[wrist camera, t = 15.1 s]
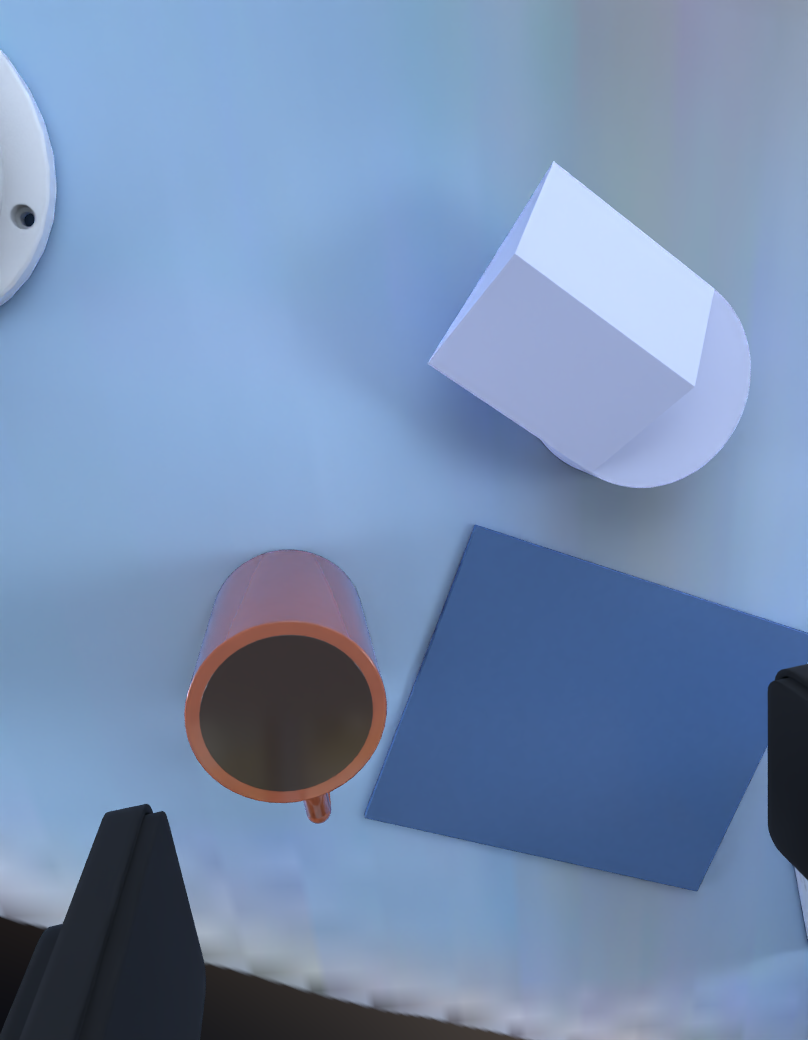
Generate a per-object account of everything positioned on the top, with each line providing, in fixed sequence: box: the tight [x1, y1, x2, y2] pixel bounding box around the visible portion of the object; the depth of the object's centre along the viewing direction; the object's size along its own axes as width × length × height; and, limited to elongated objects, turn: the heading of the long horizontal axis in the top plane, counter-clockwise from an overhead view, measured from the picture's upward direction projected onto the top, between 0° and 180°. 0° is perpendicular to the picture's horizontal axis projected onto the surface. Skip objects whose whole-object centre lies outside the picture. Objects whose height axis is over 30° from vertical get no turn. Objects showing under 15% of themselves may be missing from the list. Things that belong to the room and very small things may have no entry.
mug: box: [184, 550, 387, 824], centre depth 30 cm, size 10×7×9 cm
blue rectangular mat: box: [365, 525, 808, 891], centre depth 38 cm, size 20×16×1 cm
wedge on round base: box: [427, 161, 751, 488], centre depth 30 cm, size 9×7×13 cm
